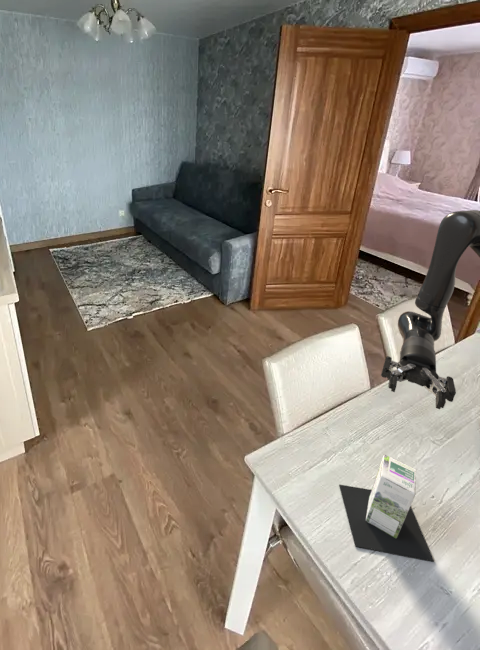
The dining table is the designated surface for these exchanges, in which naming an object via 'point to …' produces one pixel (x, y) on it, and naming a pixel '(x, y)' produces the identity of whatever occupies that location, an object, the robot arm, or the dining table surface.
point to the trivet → (375, 539)
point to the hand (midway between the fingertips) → (415, 397)
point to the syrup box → (391, 496)
